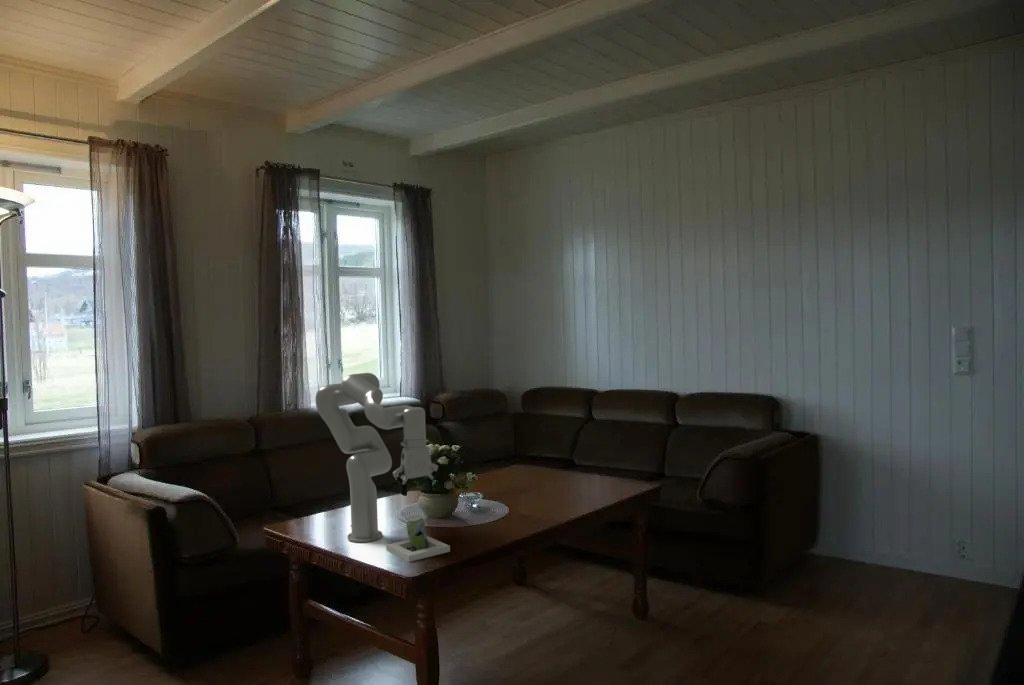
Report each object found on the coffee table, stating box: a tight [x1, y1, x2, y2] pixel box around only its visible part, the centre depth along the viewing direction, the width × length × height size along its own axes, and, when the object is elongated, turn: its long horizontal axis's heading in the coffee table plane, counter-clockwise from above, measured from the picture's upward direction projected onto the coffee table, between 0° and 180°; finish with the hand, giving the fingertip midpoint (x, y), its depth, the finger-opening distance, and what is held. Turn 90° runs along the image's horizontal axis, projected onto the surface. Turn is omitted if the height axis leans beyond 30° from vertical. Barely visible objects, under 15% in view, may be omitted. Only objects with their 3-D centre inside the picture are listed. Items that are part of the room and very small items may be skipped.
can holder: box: [385, 535, 451, 563], centre depth 252 cm, size 16×16×2 cm
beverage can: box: [406, 514, 429, 552], centre depth 252 cm, size 6×7×12 cm
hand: (416, 492), depth 252 cm, fingers open, 9 cm apart
